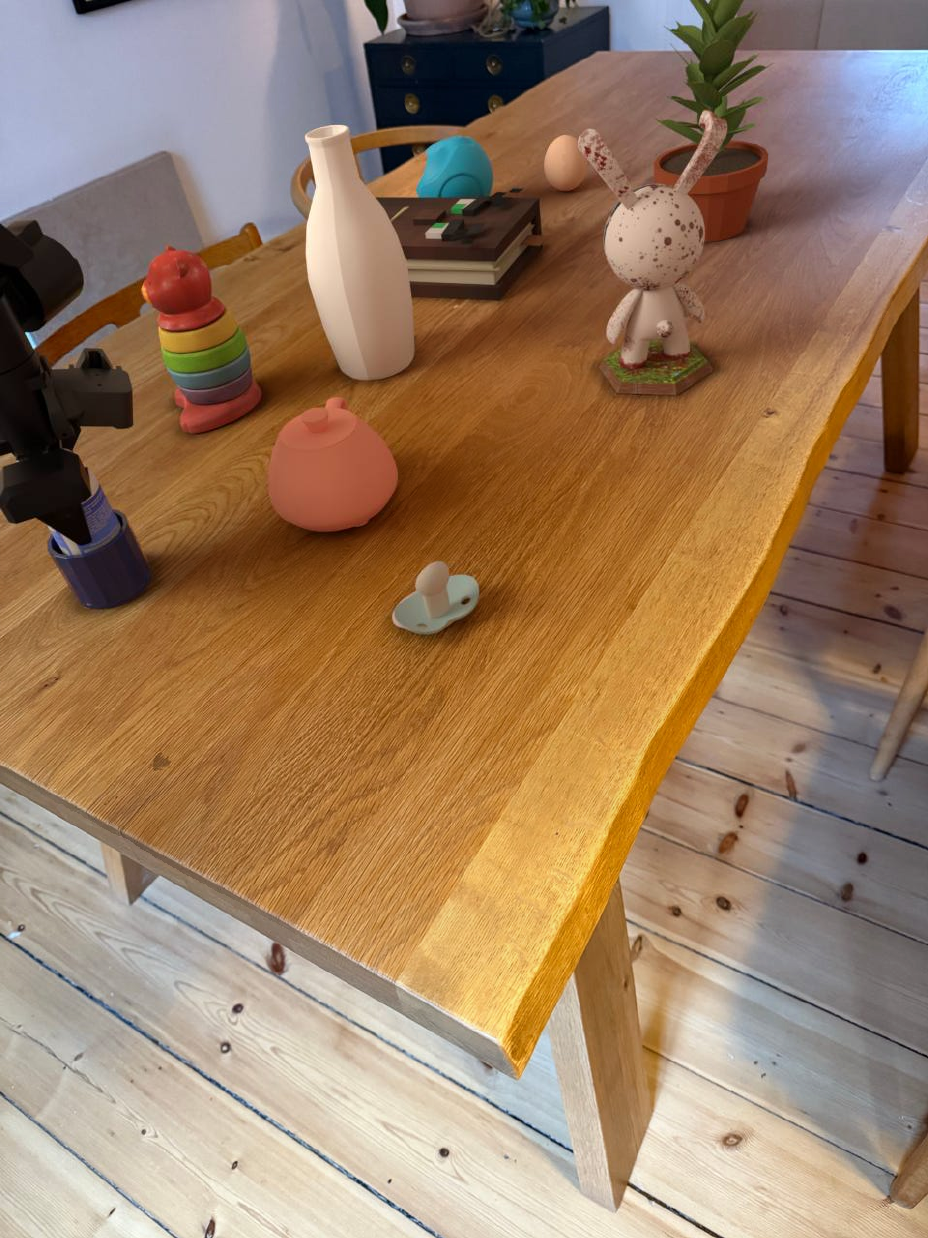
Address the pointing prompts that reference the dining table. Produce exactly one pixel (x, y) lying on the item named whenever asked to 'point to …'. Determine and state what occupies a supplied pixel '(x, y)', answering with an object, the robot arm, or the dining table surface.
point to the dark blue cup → (105, 569)
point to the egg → (565, 163)
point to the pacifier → (436, 600)
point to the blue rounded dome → (456, 170)
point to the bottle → (356, 265)
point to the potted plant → (736, 163)
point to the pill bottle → (92, 522)
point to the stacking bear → (199, 343)
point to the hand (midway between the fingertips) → (83, 526)
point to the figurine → (654, 269)
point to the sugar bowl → (330, 470)
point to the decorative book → (466, 242)
